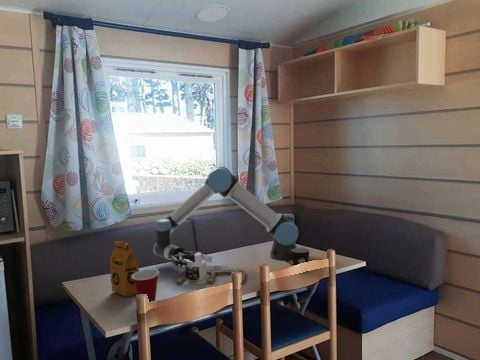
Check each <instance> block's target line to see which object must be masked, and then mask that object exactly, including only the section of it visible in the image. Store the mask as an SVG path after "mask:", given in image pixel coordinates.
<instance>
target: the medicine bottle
mask: <svg viewBox="0 0 480 360" xmlns="http://www.w3.org/2000/svg"><path fill="white" fill-rule="evenodd" d="M199 252H200V251H198V252H193V253H190V254H189V255H188V258H189V259H188V260H189V261H192V262H193V268H190V267H187V266H184V267H185V271H186V278H185V281H186V280H188V281H201V280H203V279H204V278H205V277H207V271H208V269H207V261H203V260H202V255H201V253H199Z"/></svg>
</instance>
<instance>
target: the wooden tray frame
mask: <svg viewBox="0 0 480 360" xmlns="http://www.w3.org/2000/svg"><path fill="white" fill-rule="evenodd" d="M236 271H239V272H241V273H242V283H241V284H245V281H244V280H246V269H233V270H227V269H226V270H207V277H205V278H204V279H203V280H201V281H188V280H186V270H185V271H182V273H181V274H180V275H179V278H178V279H177V281H176V285H178V286H179V285H183V284H184V285H206V284H207V283H208V285H213V284H214V282H215V278H216V276H231V273H232V272H236Z"/></svg>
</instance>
